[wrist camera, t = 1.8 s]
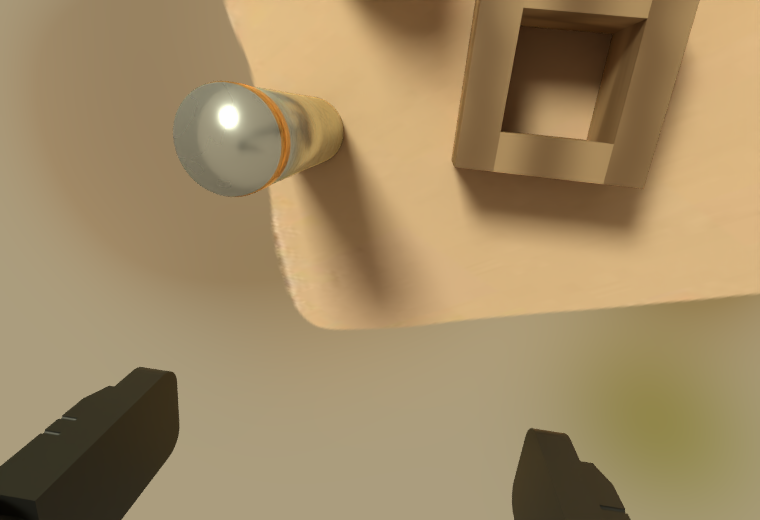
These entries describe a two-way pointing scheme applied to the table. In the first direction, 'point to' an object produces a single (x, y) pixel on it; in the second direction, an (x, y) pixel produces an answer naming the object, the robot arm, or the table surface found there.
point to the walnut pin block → (614, 101)
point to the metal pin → (252, 136)
